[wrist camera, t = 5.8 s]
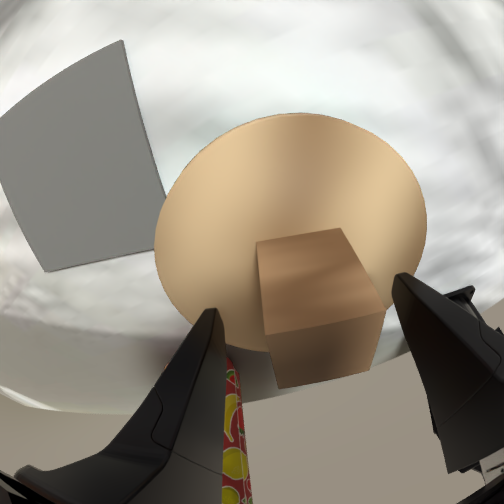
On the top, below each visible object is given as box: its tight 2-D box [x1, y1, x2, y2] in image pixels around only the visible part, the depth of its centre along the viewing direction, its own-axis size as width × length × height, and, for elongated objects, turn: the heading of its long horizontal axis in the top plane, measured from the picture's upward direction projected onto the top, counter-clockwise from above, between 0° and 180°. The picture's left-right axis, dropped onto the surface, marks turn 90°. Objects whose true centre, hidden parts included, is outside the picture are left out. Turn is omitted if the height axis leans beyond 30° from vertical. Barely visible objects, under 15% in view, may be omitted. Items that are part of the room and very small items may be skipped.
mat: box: [0, 40, 166, 272], centre depth 13 cm, size 12×12×1 cm
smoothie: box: [164, 357, 253, 504], centre depth 15 cm, size 8×8×20 cm
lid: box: [154, 113, 427, 389], centre depth 9 cm, size 11×11×5 cm
